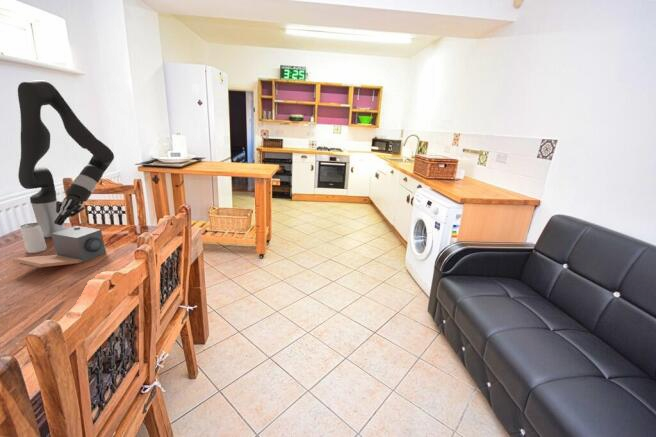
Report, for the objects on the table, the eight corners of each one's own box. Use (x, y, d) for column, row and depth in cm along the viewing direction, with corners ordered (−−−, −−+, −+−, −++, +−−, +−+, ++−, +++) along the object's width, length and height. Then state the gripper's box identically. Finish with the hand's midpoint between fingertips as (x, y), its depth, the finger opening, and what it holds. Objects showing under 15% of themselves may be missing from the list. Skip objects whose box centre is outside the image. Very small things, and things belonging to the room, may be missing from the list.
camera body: (109, 253, 131) (104, 228, 128) (87, 263, 122) (80, 237, 118) (81, 248, 135) (75, 224, 131) (57, 257, 126) (50, 232, 122)
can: (34, 254, 128) (26, 228, 124) (23, 252, 129) (14, 226, 125) (50, 248, 134) (43, 223, 130) (39, 246, 135) (31, 221, 131)
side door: (82, 259, 122) (40, 263, 108) (82, 264, 122) (40, 269, 108) (57, 254, 125) (13, 258, 111) (56, 259, 125) (12, 263, 111)
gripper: (62, 181, 124) (35, 217, 117) (86, 184, 121) (60, 222, 113) (78, 191, 130) (54, 226, 123) (101, 194, 127) (78, 230, 120)
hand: (57, 224), depth 118 cm, fingers closed
